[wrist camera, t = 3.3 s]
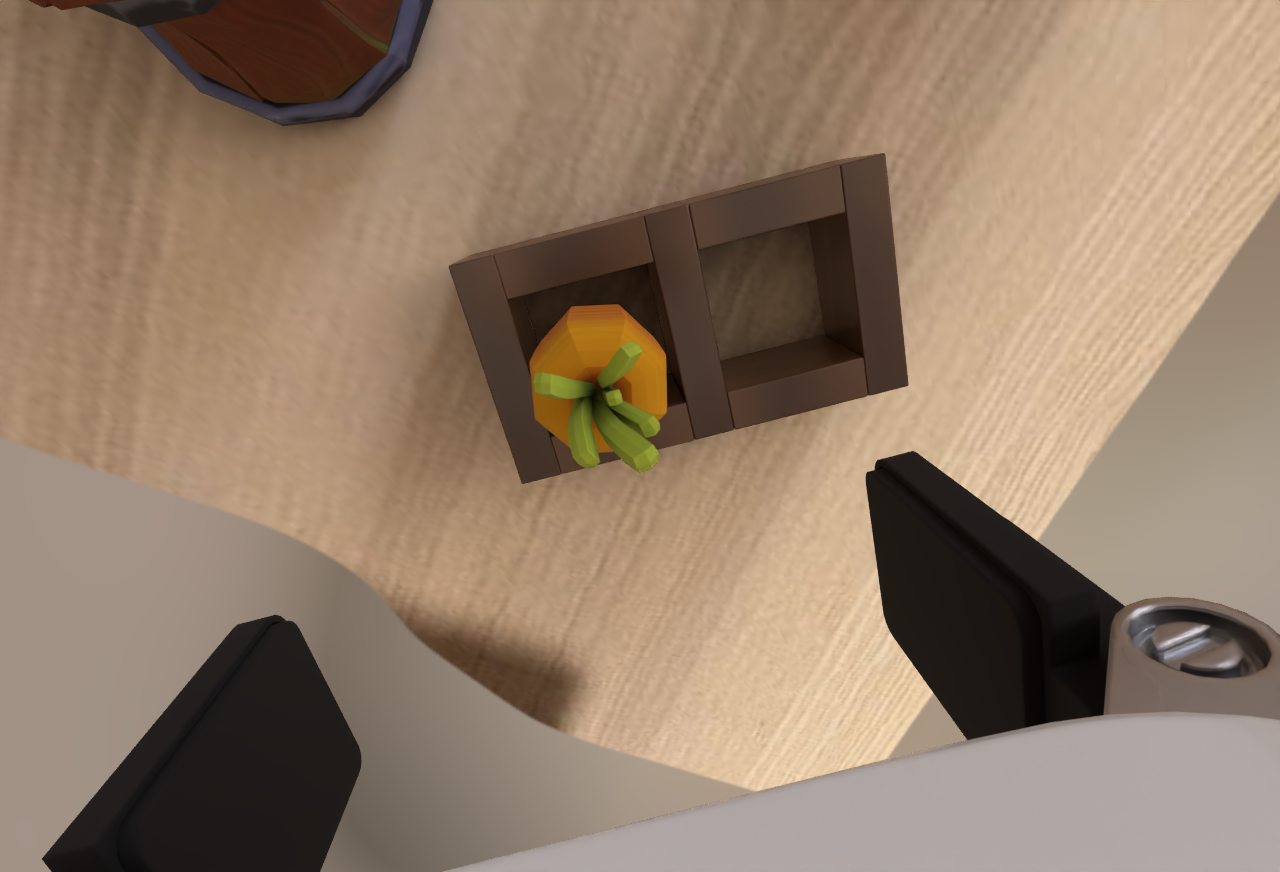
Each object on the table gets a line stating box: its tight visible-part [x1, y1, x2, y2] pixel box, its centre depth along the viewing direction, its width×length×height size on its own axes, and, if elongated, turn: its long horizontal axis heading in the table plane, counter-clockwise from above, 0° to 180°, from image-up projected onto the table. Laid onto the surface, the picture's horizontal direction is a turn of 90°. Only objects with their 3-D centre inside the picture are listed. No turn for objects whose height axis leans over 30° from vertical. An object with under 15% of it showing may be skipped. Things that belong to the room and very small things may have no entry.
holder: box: [449, 153, 908, 484], centre depth 29 cm, size 17×10×5 cm, turn 104°
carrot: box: [530, 304, 667, 473], centre depth 25 cm, size 5×5×15 cm
